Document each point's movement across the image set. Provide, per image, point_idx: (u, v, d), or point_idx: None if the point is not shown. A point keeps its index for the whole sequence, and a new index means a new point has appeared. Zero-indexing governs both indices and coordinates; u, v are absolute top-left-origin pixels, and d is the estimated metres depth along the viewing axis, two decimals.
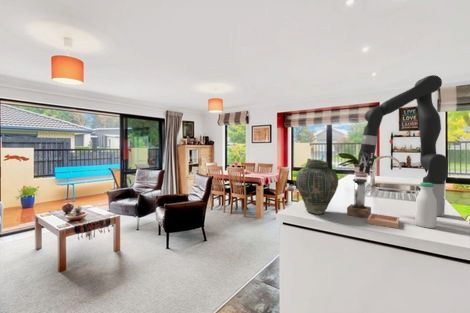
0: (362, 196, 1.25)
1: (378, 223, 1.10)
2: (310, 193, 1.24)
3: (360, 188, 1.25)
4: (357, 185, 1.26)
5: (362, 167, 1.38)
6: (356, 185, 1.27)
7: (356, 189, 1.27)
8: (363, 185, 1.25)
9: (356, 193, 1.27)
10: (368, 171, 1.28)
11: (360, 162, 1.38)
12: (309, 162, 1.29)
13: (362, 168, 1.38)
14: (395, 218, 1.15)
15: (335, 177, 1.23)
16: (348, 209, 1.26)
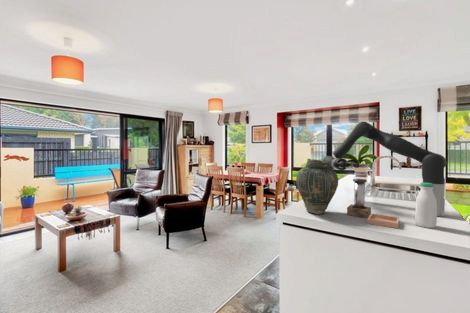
0: (362, 196, 1.25)
1: (378, 223, 1.10)
2: (310, 193, 1.24)
3: (360, 188, 1.25)
4: (357, 185, 1.26)
5: (355, 165, 1.41)
6: (356, 185, 1.27)
7: (356, 189, 1.27)
8: (363, 185, 1.25)
9: (356, 193, 1.27)
10: (340, 165, 1.39)
11: None
12: (309, 162, 1.29)
13: (355, 165, 1.40)
14: (395, 218, 1.15)
15: (335, 177, 1.23)
16: (348, 209, 1.26)
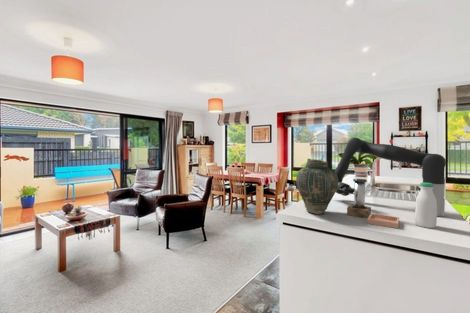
0: (362, 196, 1.25)
1: (378, 223, 1.10)
2: (310, 193, 1.24)
3: (360, 188, 1.25)
4: (357, 185, 1.26)
5: None
6: (356, 185, 1.27)
7: (356, 189, 1.27)
8: (363, 185, 1.25)
9: (356, 193, 1.27)
10: (344, 192, 1.35)
11: None
12: (309, 162, 1.29)
13: None
14: (395, 218, 1.15)
15: (335, 177, 1.23)
16: (348, 209, 1.26)
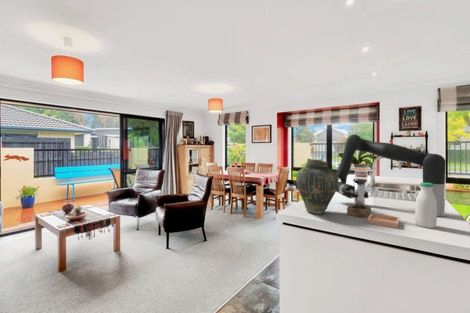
0: (362, 196, 1.25)
1: (378, 223, 1.10)
2: (310, 193, 1.24)
3: (360, 188, 1.25)
4: (357, 185, 1.26)
5: None
6: (356, 185, 1.27)
7: (356, 189, 1.27)
8: (363, 185, 1.25)
9: (356, 193, 1.26)
10: (353, 195, 1.26)
11: None
12: (309, 162, 1.29)
13: None
14: (395, 218, 1.15)
15: (335, 177, 1.23)
16: (348, 209, 1.26)
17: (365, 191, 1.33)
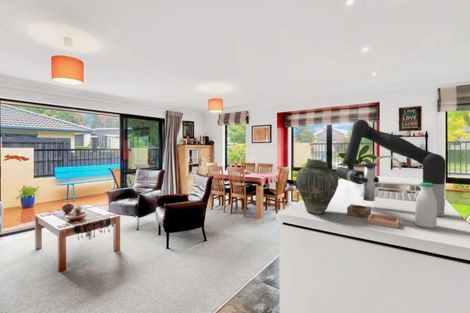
0: (372, 180, 1.19)
1: (378, 223, 1.10)
2: (310, 193, 1.24)
3: (370, 172, 1.19)
4: (367, 169, 1.20)
5: None
6: (366, 169, 1.21)
7: (366, 173, 1.21)
8: (373, 169, 1.19)
9: (366, 177, 1.20)
10: (363, 179, 1.20)
11: None
12: (309, 162, 1.29)
13: (375, 179, 1.21)
14: (395, 218, 1.15)
15: (335, 177, 1.23)
16: (348, 209, 1.26)
17: (375, 176, 1.27)
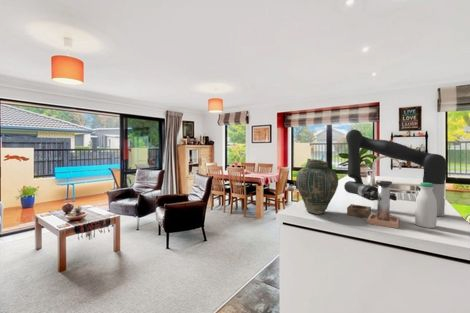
0: (387, 200, 1.11)
1: (378, 223, 1.10)
2: (310, 193, 1.24)
3: (385, 191, 1.11)
4: (381, 188, 1.12)
5: (391, 196, 1.14)
6: (380, 188, 1.12)
7: (380, 192, 1.12)
8: (388, 188, 1.11)
9: (380, 197, 1.12)
10: (373, 197, 1.12)
11: None
12: (309, 162, 1.29)
13: (392, 197, 1.13)
14: (395, 218, 1.15)
15: (335, 177, 1.23)
16: (348, 209, 1.26)
17: None
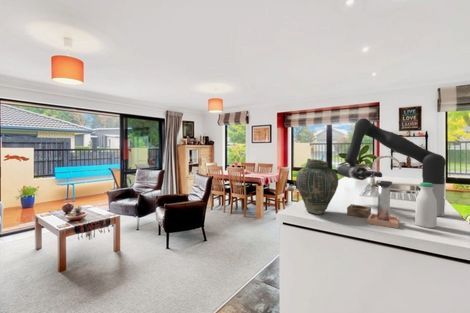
0: (387, 200, 1.11)
1: (378, 223, 1.10)
2: (310, 193, 1.24)
3: (385, 191, 1.11)
4: (381, 188, 1.12)
5: (377, 174, 1.28)
6: (380, 188, 1.12)
7: (380, 192, 1.12)
8: (388, 188, 1.11)
9: (380, 197, 1.12)
10: (361, 174, 1.26)
11: (375, 176, 1.30)
12: (309, 162, 1.29)
13: (378, 174, 1.27)
14: (395, 218, 1.15)
15: (335, 177, 1.23)
16: (348, 209, 1.26)
17: None
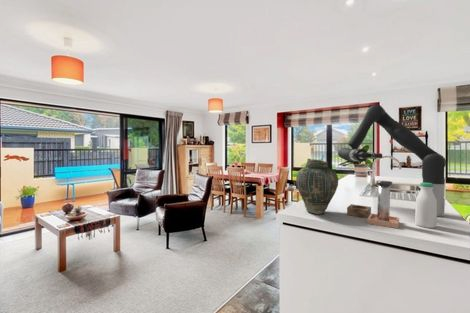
0: (387, 200, 1.11)
1: (378, 223, 1.10)
2: (310, 193, 1.24)
3: (385, 191, 1.11)
4: (381, 188, 1.12)
5: (377, 155, 1.29)
6: (380, 188, 1.12)
7: (380, 192, 1.12)
8: (388, 188, 1.11)
9: (380, 197, 1.12)
10: (362, 155, 1.28)
11: (375, 157, 1.32)
12: (309, 162, 1.29)
13: (378, 155, 1.28)
14: (395, 218, 1.15)
15: (335, 177, 1.23)
16: (348, 209, 1.26)
17: (376, 153, 1.34)
